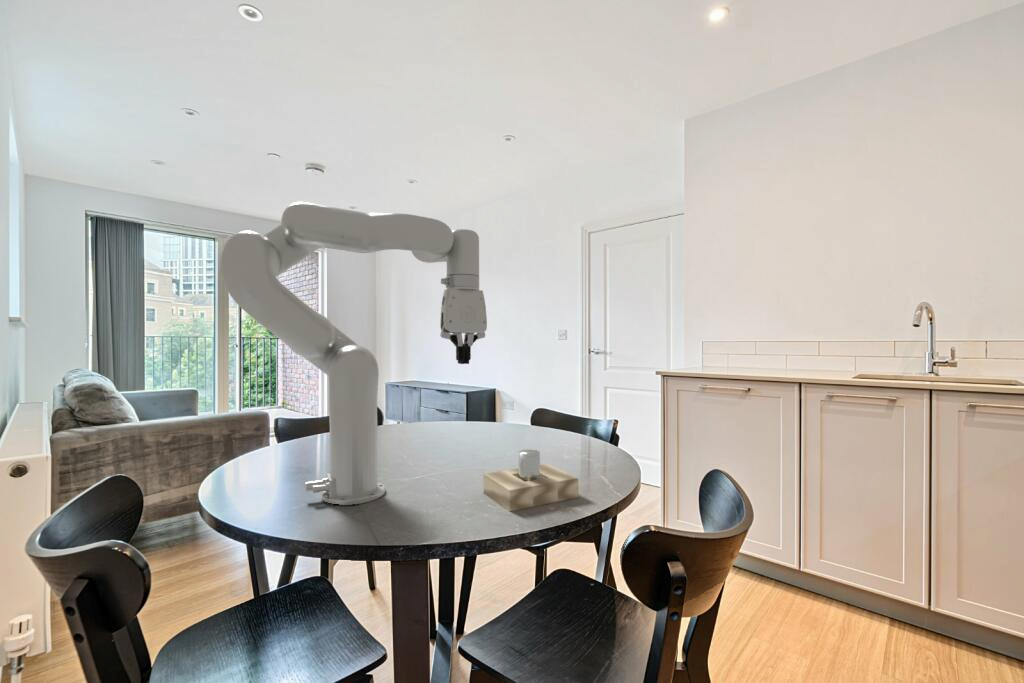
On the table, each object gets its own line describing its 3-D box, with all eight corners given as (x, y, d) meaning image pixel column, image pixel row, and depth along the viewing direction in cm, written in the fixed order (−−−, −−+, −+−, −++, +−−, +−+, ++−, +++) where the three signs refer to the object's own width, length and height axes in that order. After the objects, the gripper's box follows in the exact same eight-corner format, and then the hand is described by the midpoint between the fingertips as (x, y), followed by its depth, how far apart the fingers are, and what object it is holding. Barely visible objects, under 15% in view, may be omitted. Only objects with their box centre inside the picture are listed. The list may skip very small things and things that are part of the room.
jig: (509, 511, 85) (509, 490, 85) (483, 492, 96) (483, 473, 96) (578, 497, 93) (578, 477, 93) (547, 481, 103) (547, 463, 103)
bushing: (525, 500, 91) (525, 455, 91) (515, 493, 95) (514, 451, 95) (543, 496, 93) (543, 453, 93) (533, 490, 97) (532, 448, 97)
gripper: (437, 280, 97) (437, 365, 97) (499, 284, 104) (499, 363, 104) (426, 284, 104) (427, 363, 104) (485, 288, 111) (486, 362, 111)
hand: (463, 363), depth 104 cm, fingers closed
